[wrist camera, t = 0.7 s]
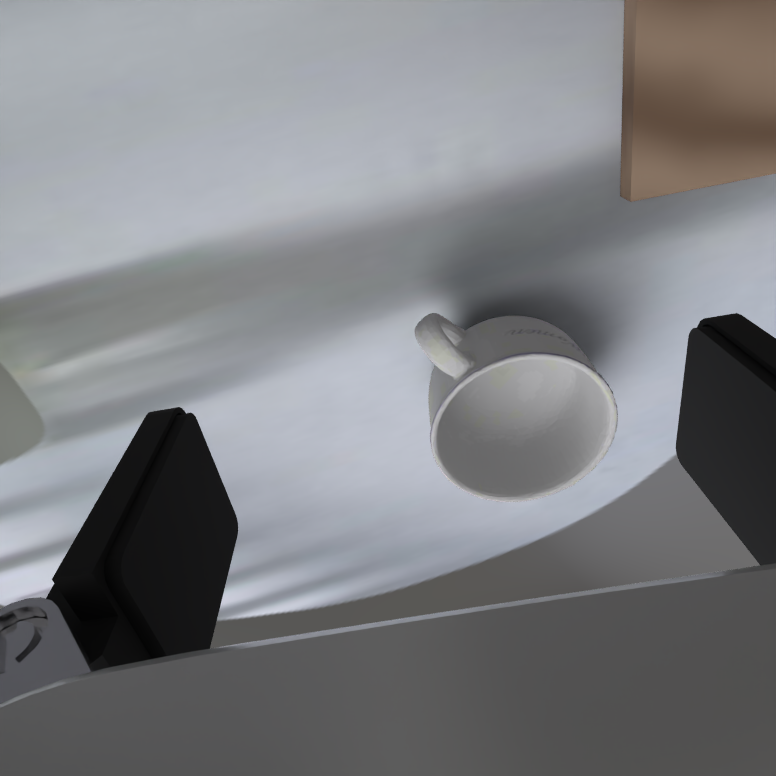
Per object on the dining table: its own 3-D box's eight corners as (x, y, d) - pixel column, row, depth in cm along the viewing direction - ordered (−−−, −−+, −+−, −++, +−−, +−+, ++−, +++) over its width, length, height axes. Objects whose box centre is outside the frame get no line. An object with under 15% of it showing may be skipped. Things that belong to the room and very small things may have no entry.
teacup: (597, 388, 41) (646, 456, 34) (465, 458, 43) (486, 534, 37) (509, 225, 35) (547, 266, 28) (362, 318, 37) (363, 377, 30)
